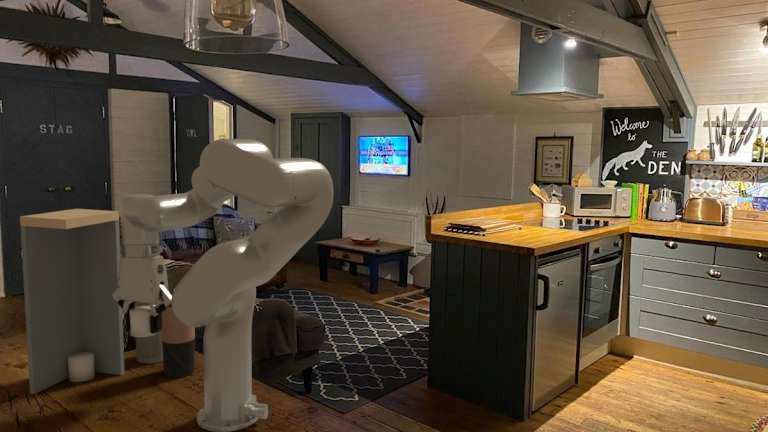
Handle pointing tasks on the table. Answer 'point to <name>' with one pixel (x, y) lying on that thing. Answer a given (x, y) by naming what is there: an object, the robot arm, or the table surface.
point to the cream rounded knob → (81, 366)
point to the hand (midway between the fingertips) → (144, 329)
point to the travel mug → (177, 345)
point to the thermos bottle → (149, 345)
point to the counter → (71, 292)
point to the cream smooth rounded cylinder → (140, 321)
